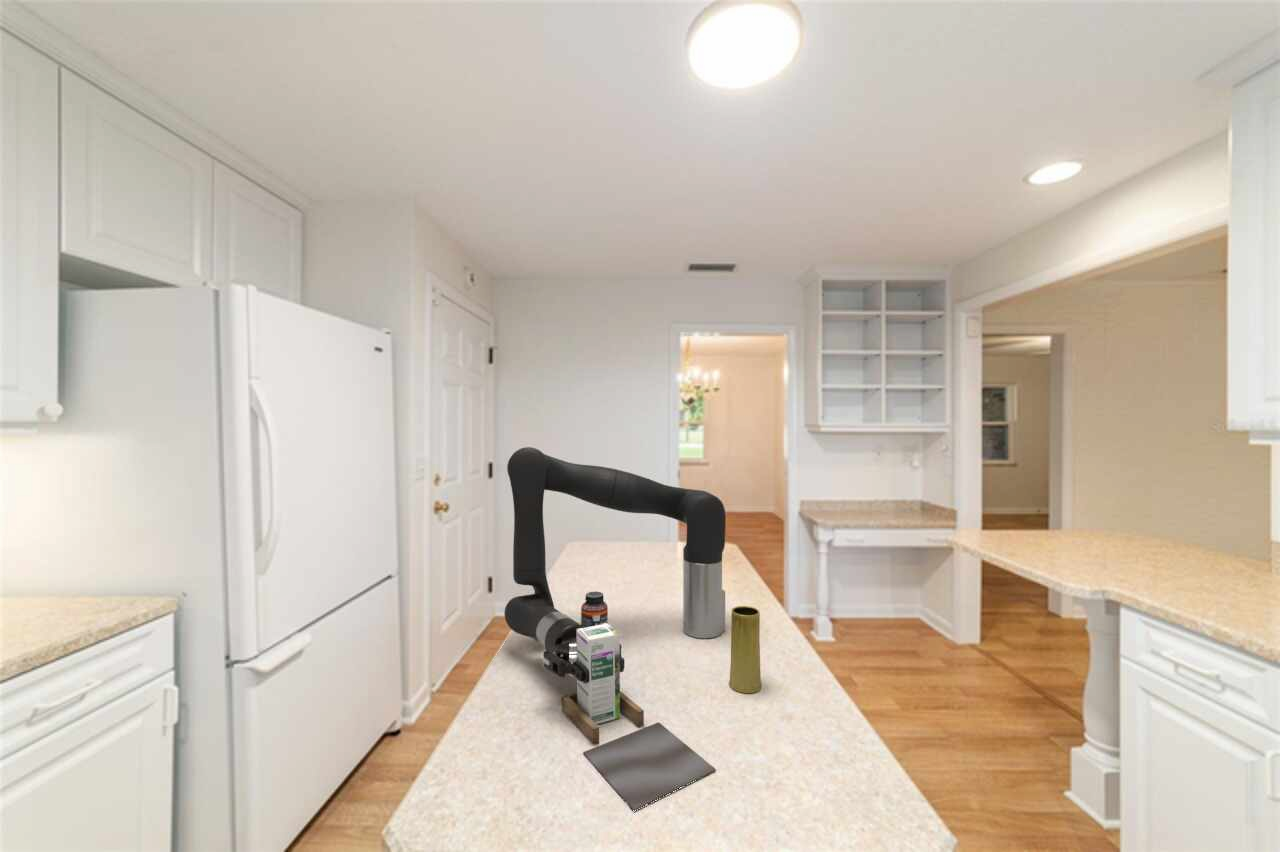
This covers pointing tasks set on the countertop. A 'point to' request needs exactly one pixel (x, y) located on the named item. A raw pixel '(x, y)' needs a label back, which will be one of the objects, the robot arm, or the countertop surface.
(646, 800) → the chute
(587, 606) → the supplement bottle
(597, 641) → the syrup box
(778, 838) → the countertop surface
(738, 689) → the vase
